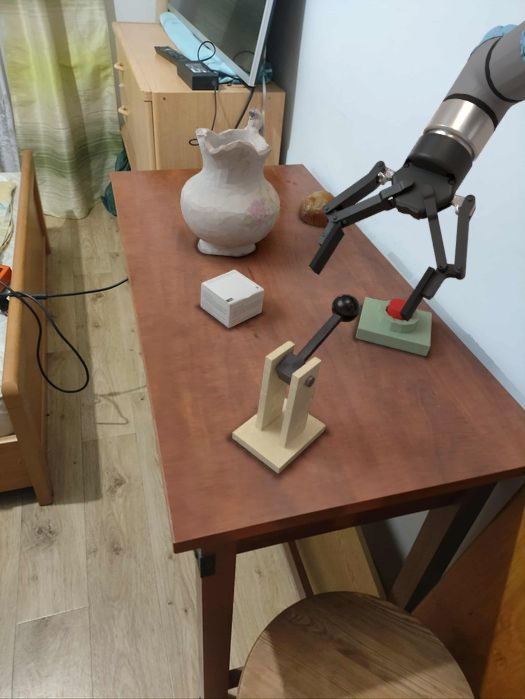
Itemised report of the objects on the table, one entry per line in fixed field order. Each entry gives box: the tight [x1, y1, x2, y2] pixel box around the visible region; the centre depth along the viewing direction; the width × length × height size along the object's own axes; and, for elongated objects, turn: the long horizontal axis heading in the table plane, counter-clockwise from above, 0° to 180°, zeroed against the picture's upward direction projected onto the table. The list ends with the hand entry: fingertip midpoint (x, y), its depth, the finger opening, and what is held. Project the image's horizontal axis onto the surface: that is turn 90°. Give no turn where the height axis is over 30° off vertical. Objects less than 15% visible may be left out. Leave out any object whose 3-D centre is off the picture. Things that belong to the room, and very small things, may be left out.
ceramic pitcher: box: [179, 106, 281, 257], centre depth 99 cm, size 22×20×25 cm
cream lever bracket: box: [232, 340, 326, 474], centre depth 64 cm, size 10×8×14 cm
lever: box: [276, 293, 361, 386], centre depth 63 cm, size 14×4×4 cm, turn 139°
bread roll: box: [298, 190, 336, 228], centre depth 118 cm, size 10×10×8 cm
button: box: [387, 298, 407, 320], centre depth 86 cm, size 4×4×2 cm
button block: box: [355, 296, 433, 357], centre depth 88 cm, size 12×10×4 cm
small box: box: [200, 269, 265, 329], centre depth 87 cm, size 8×8×5 cm
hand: (356, 293), depth 64 cm, fingers open, 13 cm apart
